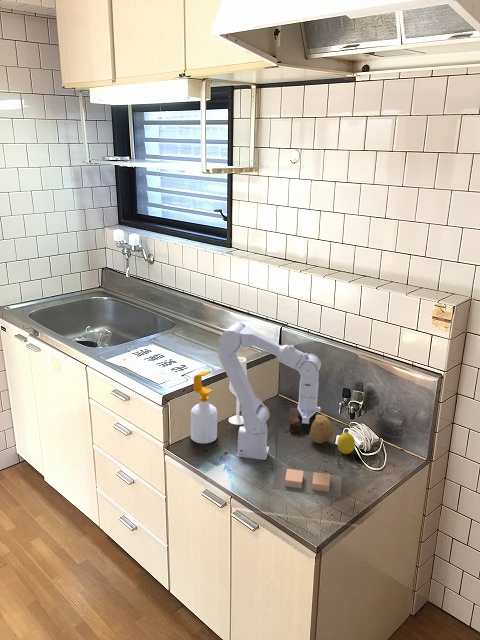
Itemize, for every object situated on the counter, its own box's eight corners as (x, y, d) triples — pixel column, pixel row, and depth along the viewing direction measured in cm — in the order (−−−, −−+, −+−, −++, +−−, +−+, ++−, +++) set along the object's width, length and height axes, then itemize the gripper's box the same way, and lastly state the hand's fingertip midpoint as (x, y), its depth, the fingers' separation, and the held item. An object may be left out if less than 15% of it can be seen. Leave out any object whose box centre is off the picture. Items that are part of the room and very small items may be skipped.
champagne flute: (234, 426, 200) (236, 364, 193) (225, 418, 206) (226, 357, 198) (250, 421, 204) (252, 360, 196) (240, 414, 209) (242, 354, 202)
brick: (289, 419, 207) (289, 407, 205) (299, 419, 206) (300, 408, 205) (289, 433, 197) (289, 421, 195) (300, 434, 196) (301, 422, 195)
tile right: (313, 478, 169) (311, 489, 164) (313, 472, 169) (312, 483, 163) (329, 480, 168) (329, 492, 163) (330, 474, 168) (329, 485, 162)
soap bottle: (207, 447, 186) (207, 379, 179) (185, 439, 191) (185, 372, 183) (222, 435, 193) (223, 370, 186) (200, 428, 198) (200, 364, 190)
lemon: (353, 459, 181) (355, 437, 178) (336, 457, 182) (338, 435, 179) (353, 451, 186) (355, 429, 184) (336, 448, 187) (338, 427, 185)
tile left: (286, 475, 171) (284, 486, 165) (287, 468, 170) (285, 479, 164) (303, 477, 170) (301, 488, 164) (303, 470, 169) (302, 482, 164)
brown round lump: (300, 437, 194) (302, 411, 191) (323, 433, 197) (325, 408, 194) (313, 450, 186) (315, 423, 182) (336, 446, 189) (339, 419, 186)
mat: (272, 489, 164) (272, 488, 164) (276, 469, 174) (276, 468, 174) (340, 498, 161) (341, 497, 161) (341, 477, 171) (341, 476, 171)
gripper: (320, 405, 164) (317, 446, 168) (322, 385, 177) (319, 423, 182) (296, 403, 165) (293, 443, 169) (300, 383, 179) (298, 421, 183)
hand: (305, 433), depth 175 cm, fingers closed
